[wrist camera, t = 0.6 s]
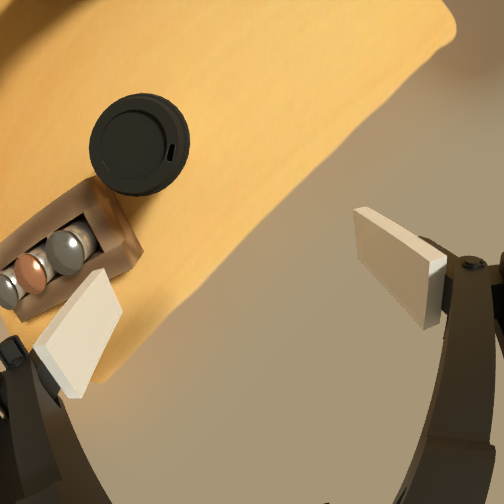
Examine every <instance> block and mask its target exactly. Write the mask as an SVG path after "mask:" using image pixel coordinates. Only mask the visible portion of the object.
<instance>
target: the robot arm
mask: <svg viewBox="0 0 504 504" xmlns="http://www.w3.org/2000/svg"><path fill="white" fill-rule="evenodd" d="M353 213H354V223H355V234H356V245H357V258H358V260H359V261H360V262H361V263H362V264H363V265H364V266H365V267H366V268H367V269H368V270H369V271H370V272H371V273H372V274H373V275H374V276H375V277H376V279H377V280H378V281H379V282H380V283H381V284H382V285H383V286H384V287H385V288H386V289H387V290H388V291H389V292H390V294H391V295H392V296H393V297H394V298H395V299H396V300H397V301H398V302H399V303H400V305H401V306H402V307H403V308H404V309H405V310H406V311H407V312H408V313H409V314H410V316H411V317H412V318H413V319H414V320H415V321H416V322H417V324H418V325H419V326H420V327H421V328H422V329H423V330H425V329H427V328H430V327H432V326H435V325H437V324H439V322H440V317H441V310H442V311H444V313H445V314H447V315H448V316H447V321H446V327H445V332H444V337H443V339H444V341H443V347H442V353H441V358H440V363H439V369H438V373H437V378H436V382H435V386H434V391H433V395H432V399H431V402H430V406H429V410H428V413H427V417H426V420H425V424H424V427H423V430H422V433H421V436H420V439H419V442H418V445H417V448H416V451H415V454H414V456H413V459H412V461H411V464H410V466H409V469H408V471H407V474H406V477H405V479H404V481H403V483H402V486H401V488H400V490H399V492H398V494H397V496H396V498H395V500H394V502H393V504H485V501H486V498H487V494H488V490H489V486H490V482H491V477H492V473H493V468H494V463H495V454H496V450H495V446H493V445H490V442H489V440H490V432H491V424H492V416H493V406H494V393H495V368H496V363H495V362H496V354H495V353H496V350H495V333H496V336H497V339H498V342H499V345H500V348H501V351H502V354H503V357H504V252H503V253H502V254H501V259H500V264H499V265H491V266H488V265H487V263H486V262H485V261H484V260H483V259H481V258H478V257H475V256H462V257H457V256H456V255H454V254H452V253H451V252H449V251H448V250H446V249H445V248H443V247H441V246H440V245H437V243H435V242H434V241H432V240H430V239H428V238H424V237H421V236H418V237H417V236H415V235H414V234H412V233H411V232H409V231H407V230H406V229H404V228H402V227H401V226H399V225H398V224H396V223H394V222H393V221H391V220H389V219H387V218H386V217H384V216H382V215H381V214H379V213H377V212H375V211H374V210H372V209H370V208H368V207H367V206H366V207H361V208H356V209H353ZM122 313H123V311H122V309H121V306H120V304H119V302H118V300H117V298H116V295H115V293H114V291H113V288H112V286H111V284H110V281H109V279H108V277H107V274H106V272H105V269H104V268H102V269H98V270H94V271H92V272H91V273H90V274H89V276H88V277H87V278H86V279H85V280H84V281H83V283H82V284H81V285H80V286H79V287H78V288H77V290H76V291H75V292H74V293H73V294H72V296H71V297H70V298H69V299H68V300H67V302H66V303H65V304H64V305H63V307H62V308H61V309H60V310H59V312H58V313H57V314H56V315H55V317H54V318H53V319H52V321H51V322H50V323H49V324H48V326H47V327H46V328H45V330H44V331H43V332H42V334H41V335H40V336H39V338H38V339H37V340H36V342H35V343H34V344H33V346H32V347H33V348H32V350H31V351H30V353H28V352H27V350H26V348H25V347H24V345H23V343H22V342H21V340H20V338H19V337H18V336H17V335H14V336H10V337H8V338H7V339H5V340H4V341H3V342H1V343H0V360H1V361H2V363H3V364H4V366H5V367H6V371H3V372H0V411H1V412H2V413H3V414H4V417H3V418H2V417H1V416H0V504H112V503H111V501H110V499H109V498H108V496H107V494H106V493H105V491H104V489H103V487H102V486H101V484H100V482H99V480H98V478H97V477H96V475H95V473H94V471H93V469H92V467H91V465H90V463H89V461H88V459H87V457H86V455H85V453H84V451H83V449H82V447H81V445H80V443H79V440H78V438H77V436H76V434H75V431H74V429H73V426H72V424H71V422H70V419H69V417H68V414H67V412H66V409H65V406H64V404H63V401H62V400H61V398H60V397H59V396H58V392H59V390H60V388H61V389H62V391H63V392H64V393H65V395H66V396H67V397H68V398H69V399H70V398H71V399H72V398H73V399H78V398H82V397H83V395H84V393H85V390H86V388H87V386H88V383H89V381H90V379H91V377H92V374H93V372H94V370H95V368H96V366H97V364H98V361H99V359H100V357H101V355H102V353H103V351H104V349H105V347H106V345H107V343H108V341H109V338H110V336H111V334H112V332H113V330H114V328H115V326H116V324H117V322H118V321H119V319H120V317H121V315H122ZM325 504H329V503H325Z"/></svg>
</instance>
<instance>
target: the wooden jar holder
mask: <svg viewBox="0 0 504 504" xmlns="http://www.w3.org/2000/svg"><path fill="white" fill-rule="evenodd" d="M82 213H84V215H85V217H86V219H87V221H88V223H89V225H90V227H91V228H92V230H93V232H94V234H95V236H96V238H97V240H98V241H99V243H100V245H101V248H99V249H97V250H96V251H94V252H93V253H92V254H91V255H90V256H89V257H88V258H87V259H86V260H85V261H84V263H83V266H82V267H81V268H80V269H79V270H78V271H77V272H76V273H75V274H73V275H62V274H60V273H57V274H56V275H55V276H54V277H53V278H52V279H51V280H50V281H49V282H48V283H47V285H46V287H45V289H44V290H43V291H42V292H41V293H39V294H35V295H34V294H30V293H28V292H27V293H26V294H25V295H24V296H23V297H22V298H21V299H20V300H19V301H18V304H17V305H16V306H15V307H14V308H13V310H14V312H15V313H16V315H17V316H18V318H19V319H20V321H21V322H22V323H23V322H25V321H27V320H28V319H30V318H32V317H34V316H36V315H38V314H40V313H42V312H44V311H46V310H48V309H50V308H52V307H54V306H56V305H58V304H60V303H62V302H64V301H66V300H68V299H69V298H70V297H71V296H72V294H73V293H74V292H75V291H76V290H77V288H78V287H79V286H80V285H81V284H82V283H83V281H84V280H85V279H86V278H87V277H88V276H89V274H90V273H91V272H92V271H94V270H98V269H102V268H104V269H105V272H106V274H107V277H108V279H111V278H113V277H116V276H118V275H120V274H122V273H124V272H126V271H128V270H130V269H133V267H134V266H135V264H136V263H137V261H138V260H139V258H140V257H141V255H142V254H143V252H144V251H143V249H142V247H141V245H140V243H139V241H138V240H137V238H136V236H135V234H134V232H133V230H132V228H131V226H130V225H129V223H128V221H127V219H126V217H125V215H124V213H123V211H122V209H121V207H120V205H119V203H118V201H117V199H116V197H115V195H114V193H113V191H112V189H110V188H109V187H108V186H107V185H105V184H104V183H103V182H102V181H101V179H100V178H99V177H98V175H96V176H93V177H90V178H87V179H85V180H84V181H82V182H81V183H79V184H78V185H76V186H75V187H73V188H72V189H70V190H69V191H67V192H66V193H64V194H63V195H61V196H60V197H59V198H57V199H56V200H54V201H53V202H52V203H50V204H49V205H48V206H46V207H45V208H43V209H42V210H41V211H39V212H38V213H37V214H36V215H34V216H33V217H32V218H30V219H29V220H28V221H27V222H25V223H24V224H23V225H22V226H20V227H19V228H18V229H17V230H15V231H14V232H13V233H12V234H11V235H9V236H8V237H7V238H6V239H5V240H4V241H2V242H1V243H0V274H1V273H3V272H4V271H5V270H7V269H8V268H9V267H10V266H12V265H13V264H14V263H15V262H16V260H17V259H18V258H19V257H20V256H22V255H24V254H28V253H30V252H31V251H32V250H34V249H35V248H37V247H38V246H39V245H41V244H42V243H44V242H43V241H42V240H43V239H44V238H45V237H47V239H48V238H49V237H50V235H52V234H53V233H55V232H56V231H59V230H63V229H65V228H66V227H68V226H69V225H71V224H73V221H72V220H73V219H74V218H76V217H77V216H79V215H80V214H82Z"/></svg>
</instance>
